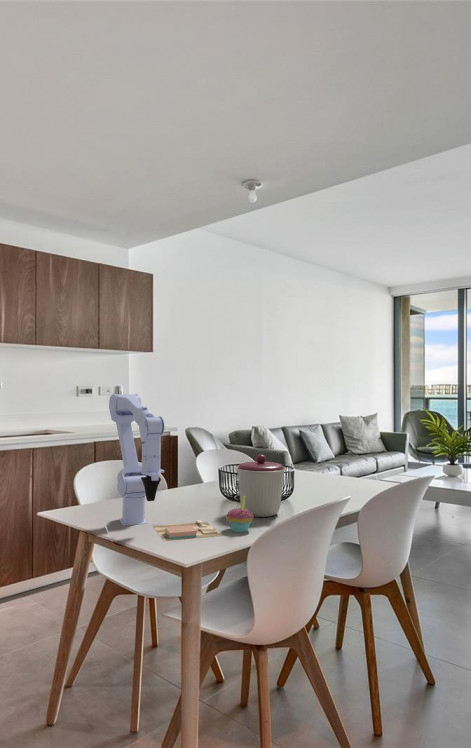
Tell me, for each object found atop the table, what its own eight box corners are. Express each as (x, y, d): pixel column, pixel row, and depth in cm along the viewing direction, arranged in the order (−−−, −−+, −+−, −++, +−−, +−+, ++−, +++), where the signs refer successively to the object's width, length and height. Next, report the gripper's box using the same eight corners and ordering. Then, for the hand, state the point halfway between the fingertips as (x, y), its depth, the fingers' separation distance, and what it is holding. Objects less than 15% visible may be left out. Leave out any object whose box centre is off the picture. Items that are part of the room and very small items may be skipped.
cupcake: (258, 531, 166) (259, 492, 167) (241, 536, 160) (241, 496, 160) (238, 526, 172) (238, 489, 172) (220, 531, 166) (220, 492, 166)
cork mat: (152, 527, 170) (152, 525, 170) (206, 523, 176) (206, 521, 176) (163, 542, 153) (163, 540, 153) (223, 537, 159) (223, 535, 159)
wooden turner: (191, 523, 174) (191, 520, 174) (204, 522, 175) (204, 519, 175) (203, 534, 160) (203, 531, 160) (217, 533, 161) (217, 530, 161)
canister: (270, 522, 177) (270, 459, 178) (225, 515, 187) (225, 455, 188) (294, 512, 192) (294, 454, 193) (251, 506, 202) (252, 450, 203)
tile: (165, 527, 161) (169, 533, 155) (190, 525, 164) (196, 530, 157) (164, 533, 161) (169, 539, 155) (190, 531, 164) (196, 537, 157)
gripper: (169, 458, 158) (168, 504, 157) (159, 453, 172) (158, 495, 171) (145, 459, 156) (144, 506, 155) (137, 453, 169) (136, 496, 169)
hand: (150, 500), depth 163 cm, fingers closed
